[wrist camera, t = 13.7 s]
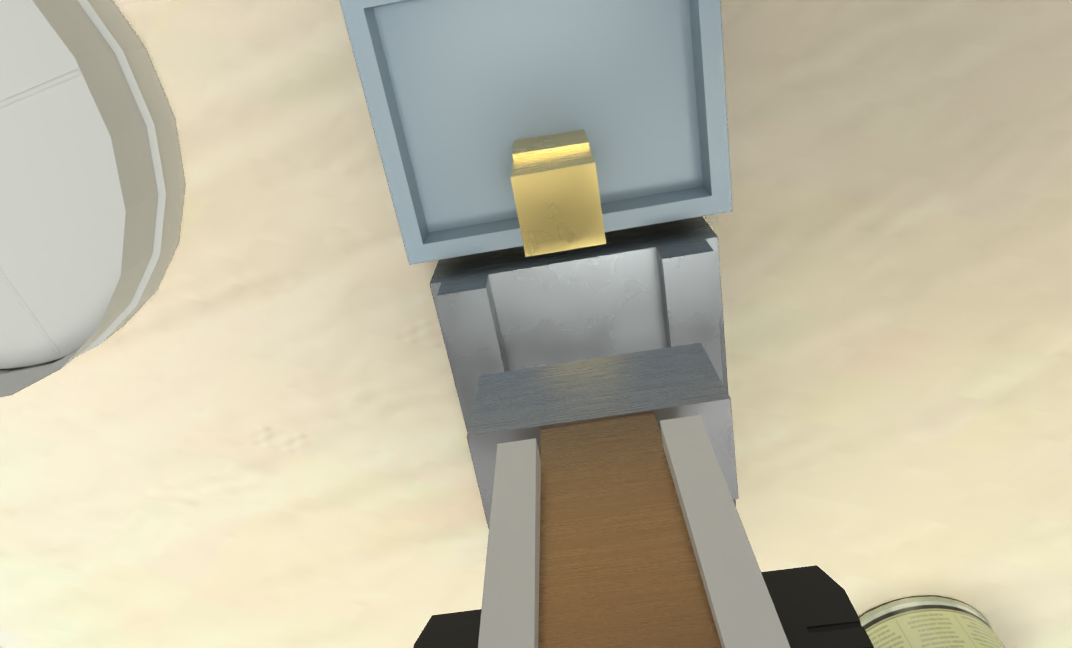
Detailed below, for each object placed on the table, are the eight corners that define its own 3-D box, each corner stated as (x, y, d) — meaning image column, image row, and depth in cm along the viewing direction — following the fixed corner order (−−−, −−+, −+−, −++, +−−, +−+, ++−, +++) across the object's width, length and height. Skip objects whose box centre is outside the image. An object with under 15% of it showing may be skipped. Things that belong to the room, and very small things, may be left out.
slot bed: (696, 210, 32) (726, 248, 27) (723, 544, 40) (749, 621, 35) (441, 253, 33) (424, 297, 28) (518, 571, 41) (516, 650, 36)
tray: (700, -78, 27) (715, -86, 25) (718, 196, 32) (732, 211, 29) (352, -10, 28) (336, -11, 26) (418, 246, 33) (409, 264, 30)
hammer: (700, 342, 17) (983, 876, 6) (709, 429, 18) (968, 1036, 7) (479, 375, 18) (362, 933, 6) (498, 459, 19) (422, 1075, 7)
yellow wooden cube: (592, 198, 31) (583, 129, 30) (597, 217, 28) (588, 142, 27) (525, 208, 31) (514, 140, 30) (524, 227, 28) (512, 153, 27)
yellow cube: (589, 146, 27) (595, 162, 24) (599, 220, 28) (606, 243, 25) (513, 159, 27) (510, 177, 24) (526, 232, 28) (525, 256, 26)
